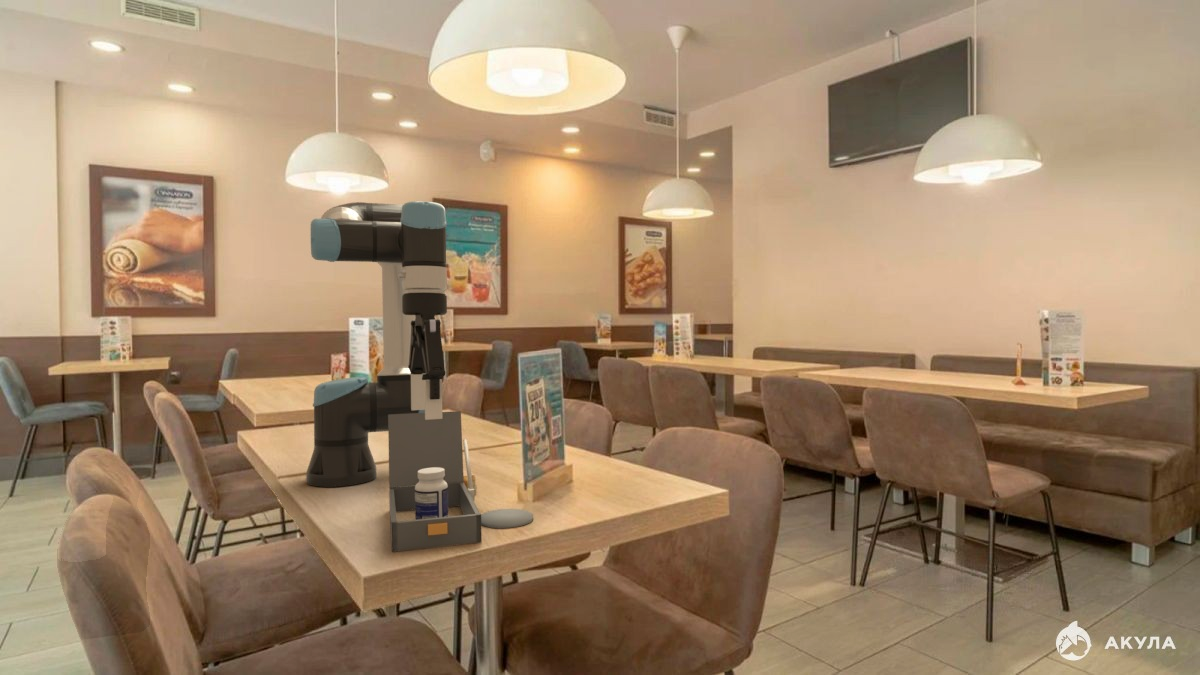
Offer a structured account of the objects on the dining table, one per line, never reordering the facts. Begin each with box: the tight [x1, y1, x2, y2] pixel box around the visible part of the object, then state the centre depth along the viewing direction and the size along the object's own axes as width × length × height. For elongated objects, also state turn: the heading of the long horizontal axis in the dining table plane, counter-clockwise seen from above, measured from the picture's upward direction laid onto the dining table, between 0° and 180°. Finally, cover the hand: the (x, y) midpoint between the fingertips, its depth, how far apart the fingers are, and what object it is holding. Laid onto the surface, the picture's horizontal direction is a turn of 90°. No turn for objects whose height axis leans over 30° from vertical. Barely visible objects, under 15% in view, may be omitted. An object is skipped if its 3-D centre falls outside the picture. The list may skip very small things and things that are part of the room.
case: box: [387, 410, 482, 553], centre depth 119 cm, size 29×15×18 cm, turn 19°
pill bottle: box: [414, 467, 449, 520], centre depth 118 cm, size 6×6×10 cm
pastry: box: [455, 474, 478, 496], centre depth 141 cm, size 9×7×4 cm
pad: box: [481, 508, 534, 529], centre depth 121 cm, size 10×10×1 cm
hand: (426, 414), depth 115 cm, fingers open, 13 cm apart
